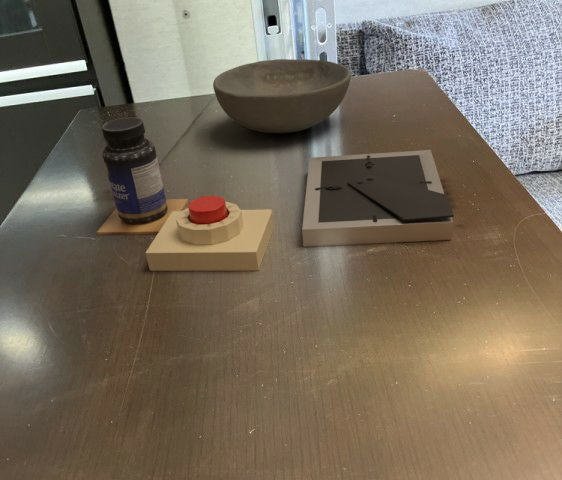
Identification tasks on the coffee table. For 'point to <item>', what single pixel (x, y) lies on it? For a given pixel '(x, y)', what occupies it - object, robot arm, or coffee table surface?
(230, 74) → the bowl
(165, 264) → the desk block
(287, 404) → the coffee table surface
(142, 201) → the pill bottle
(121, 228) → the coaster
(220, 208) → the button
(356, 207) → the picture frame
